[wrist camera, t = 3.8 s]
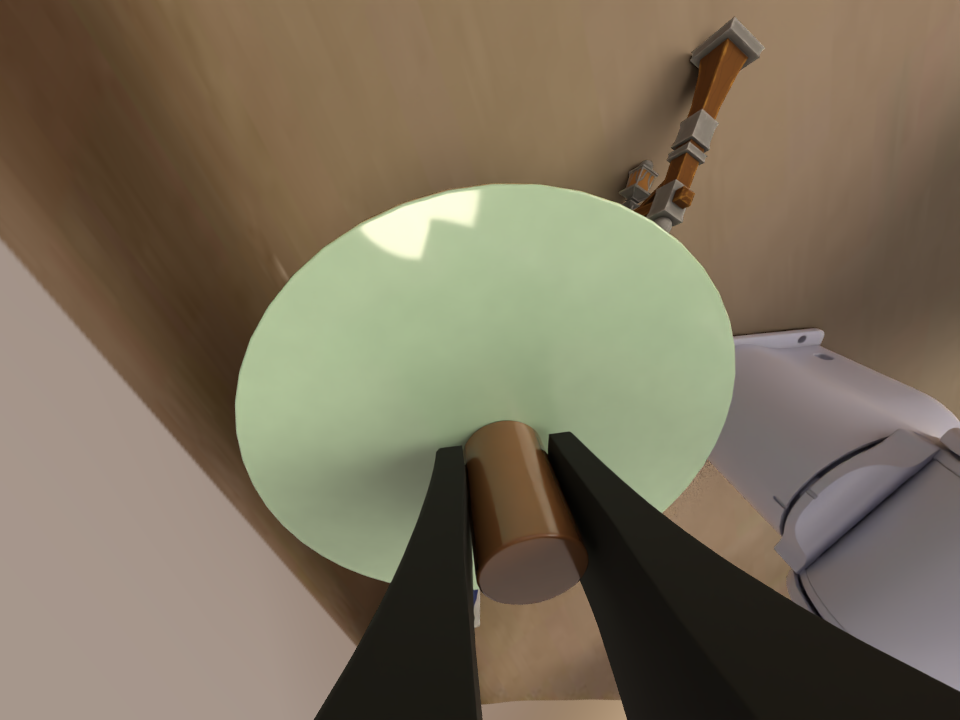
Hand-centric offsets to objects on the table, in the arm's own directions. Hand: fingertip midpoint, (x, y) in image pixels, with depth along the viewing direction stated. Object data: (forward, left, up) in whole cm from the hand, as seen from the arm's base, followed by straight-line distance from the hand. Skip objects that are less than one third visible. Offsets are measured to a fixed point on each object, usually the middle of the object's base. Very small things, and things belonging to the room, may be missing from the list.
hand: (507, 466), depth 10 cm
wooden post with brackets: (-9, -8, -11) cm, 16 cm away
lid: (0, 0, -1) cm, 1 cm away
